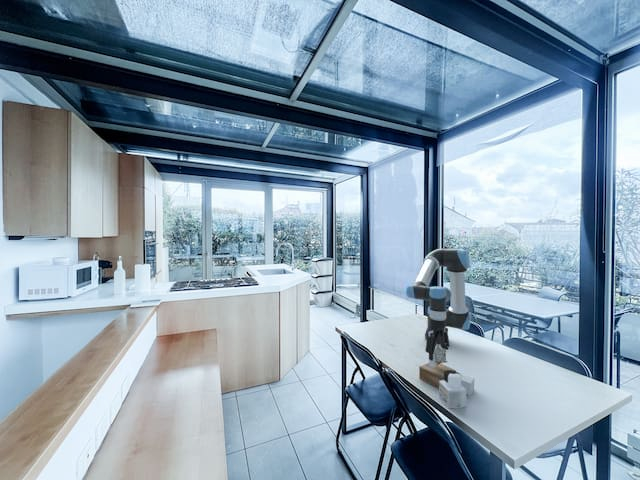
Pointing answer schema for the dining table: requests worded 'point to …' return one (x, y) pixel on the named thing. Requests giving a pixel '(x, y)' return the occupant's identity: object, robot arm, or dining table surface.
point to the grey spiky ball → (439, 356)
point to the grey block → (467, 384)
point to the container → (452, 390)
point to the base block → (433, 373)
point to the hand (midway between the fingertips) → (437, 363)
